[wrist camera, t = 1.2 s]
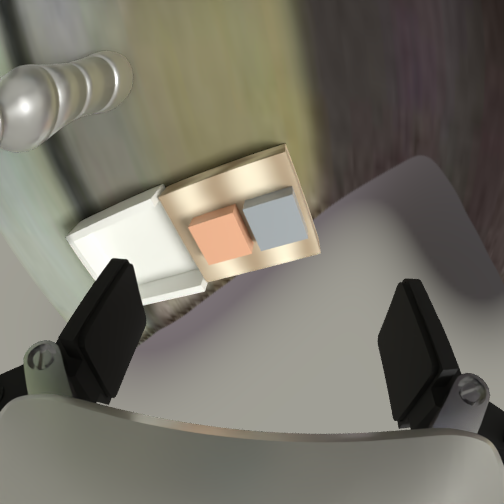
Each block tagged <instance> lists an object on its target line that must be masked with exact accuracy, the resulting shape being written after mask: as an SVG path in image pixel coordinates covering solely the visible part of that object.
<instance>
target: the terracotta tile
mask: <svg viewBox="0 0 504 504" xmlns="http://www.w3.org/2000/svg"><path fill="white" fill-rule="evenodd" d="M188 229H189V230H190V232H191V234H192V236H193V238H194V239H195V241H196V243H197V245H198V247H199V248H200V250H201V252H202V254H203V256H204V257H205V259H206V261H207V263H208V264H209V265H212V264H216V263H219V262H223V261H227V260H231V259H234V258H238V257H242V256H245V255H249V254H252V250H253V245H254V243H253V240H252V238H251V236H250V234H249V232H248V229H247V227H246V225H245V223H244V221H243V219H242V216H241V214H240V212H239V210H238V208H237V205H236V204H233V205H230V206H227V207H224V208H221V209H218V210H215V211H212V212H209V213H206V214H203V215H200V216H197V217H194V218H192V220H191V222H190V224H189V226H188Z"/></svg>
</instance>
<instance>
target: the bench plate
mask: <svg viewBox="0 0 504 504" xmlns="http://www.w3.org/2000/svg"><path fill="white" fill-rule="evenodd" d="M290 186H293V189H294V192H295V195H296V197H297V200H298V203H299V206H300V208H301V211H302V214H303V217H304V220H305V223H306V226H307V229H308V239H305V240H301V241H297V242H294V243H290V244H286V245H282V246H279V247H275V248H271V249H268V250H264V251H261V250H260V248H259V246H258V243H257V241H256V239H255V237H254V235H253V232H252V230H251V228H250V226H249V223H248V221H247V219H246V217H245V215H244V212H243V210H242V209H243V205H244V202H245V200H248V199H252V198H255V197H258V196H261V195H264V194H268V193H271V192H274V191H277V190H281V189H284V188H287V187H290ZM158 198H159V200H160V202H161V203H162V205H163V207H164V209H165V211H166V212H167V214H168V216H169V218H170V220H171V221H172V223H173V225H174V227H175V229H176V230H177V232H178V234H179V236H180V237H181V239H182V241H183V243H184V244H185V246H186V248H187V250H188V251H189V253H190V255H191V256H192V258H193V260H194V262H195V263H196V265H197V267H198V268H199V270H200V272H201V274H202V275H203V277H204V279H205V280H206V282H210V281H214V280H218V279H222V278H226V277H230V276H234V275H238V274H242V273H246V272H250V271H254V270H258V269H262V268H266V267H270V266H274V265H278V264H282V263H286V262H289V261H293V260H297V259H301V258H305V257H309V256H312V255H316V254H320V253H321V252H320V245H319V238H318V235H317V232H316V229H315V226H314V223H313V220H312V217H311V214H310V211H309V208H308V205H307V202H306V199H305V196H304V193H303V191H302V188H301V185H300V182H299V179H298V176H297V174H296V171H295V168H294V165H293V163H292V160H291V157H290V154H289V152H288V149H287V146H286V144H282V145H279V146H276V147H273V148H270V149H267V150H264V151H261V152H258V153H255V154H252V155H249V156H246V157H243V158H240V159H238V160H235V161H232V162H229V163H226V164H224V165H221V166H218V167H216V168H213V169H210V170H207V171H205V172H202V173H200V174H197V175H194V176H192V177H189V178H187V179H184V180H182V181H179V182H177V183H174V184H172V185H169V186H167V187H166V189H165V190H164V191H163V192H162V194H161V195H160V196H159V197H158ZM233 204H236V205H237V208H238V210H239V212H240V214H241V216H242V219H243V221H244V223H245V225H246V227H247V229H248V232H249V234H250V236H251V238H252V240H253V243H254V245H253V250H252V254H249V255H245V256H242V257H238V258H234V259H231V260H227V261H223V262H219V263H216V264H212V265H209V264H208V263H207V261H206V259H205V257H204V256H203V254H202V252H201V250H200V248H199V247H198V245H197V243H196V241H195V239H194V238H193V236H192V234H191V232H190V230H189V229H188V226H189V224H190V222H191V220H192V218H194V217H197V216H200V215H203V214H206V213H209V212H212V211H215V210H218V209H221V208H224V207H227V206H230V205H233Z"/></svg>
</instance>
